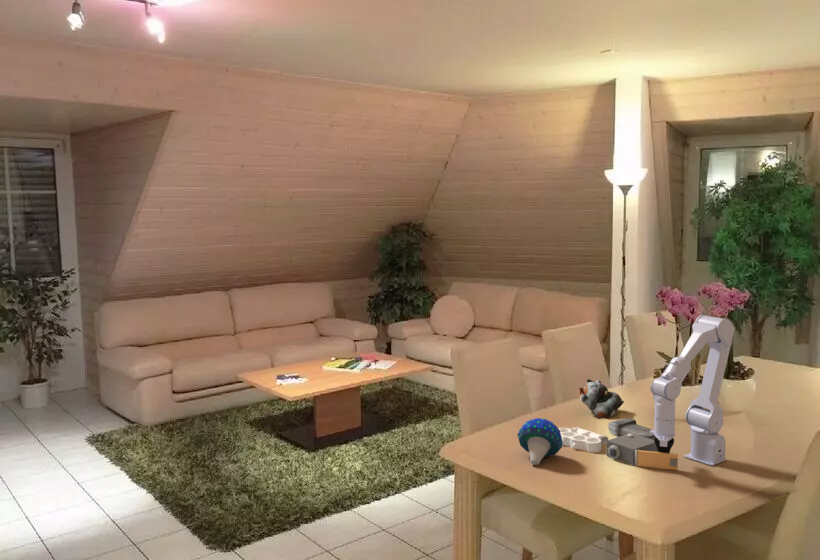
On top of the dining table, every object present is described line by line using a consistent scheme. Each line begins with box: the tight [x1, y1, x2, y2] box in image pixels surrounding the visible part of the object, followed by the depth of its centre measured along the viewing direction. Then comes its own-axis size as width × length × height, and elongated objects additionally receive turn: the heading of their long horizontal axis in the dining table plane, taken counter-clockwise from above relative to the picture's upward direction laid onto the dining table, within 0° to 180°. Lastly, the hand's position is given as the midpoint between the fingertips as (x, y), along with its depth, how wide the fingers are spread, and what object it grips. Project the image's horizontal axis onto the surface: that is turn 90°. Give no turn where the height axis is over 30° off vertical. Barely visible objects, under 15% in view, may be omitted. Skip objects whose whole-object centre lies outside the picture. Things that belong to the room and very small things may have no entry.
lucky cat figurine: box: [578, 378, 625, 419], centre depth 261 cm, size 15×12×14 cm
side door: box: [634, 450, 679, 471], centre depth 205 cm, size 2×12×5 cm, turn 71°
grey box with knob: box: [606, 433, 658, 467], centre depth 215 cm, size 10×13×6 cm
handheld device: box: [607, 418, 656, 440], centre depth 232 cm, size 10×20×5 cm, turn 32°
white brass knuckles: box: [558, 426, 609, 453], centre depth 228 cm, size 3×18×15 cm
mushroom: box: [517, 417, 563, 466], centre depth 214 cm, size 14×14×15 cm
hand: (663, 462), depth 206 cm, fingers closed
